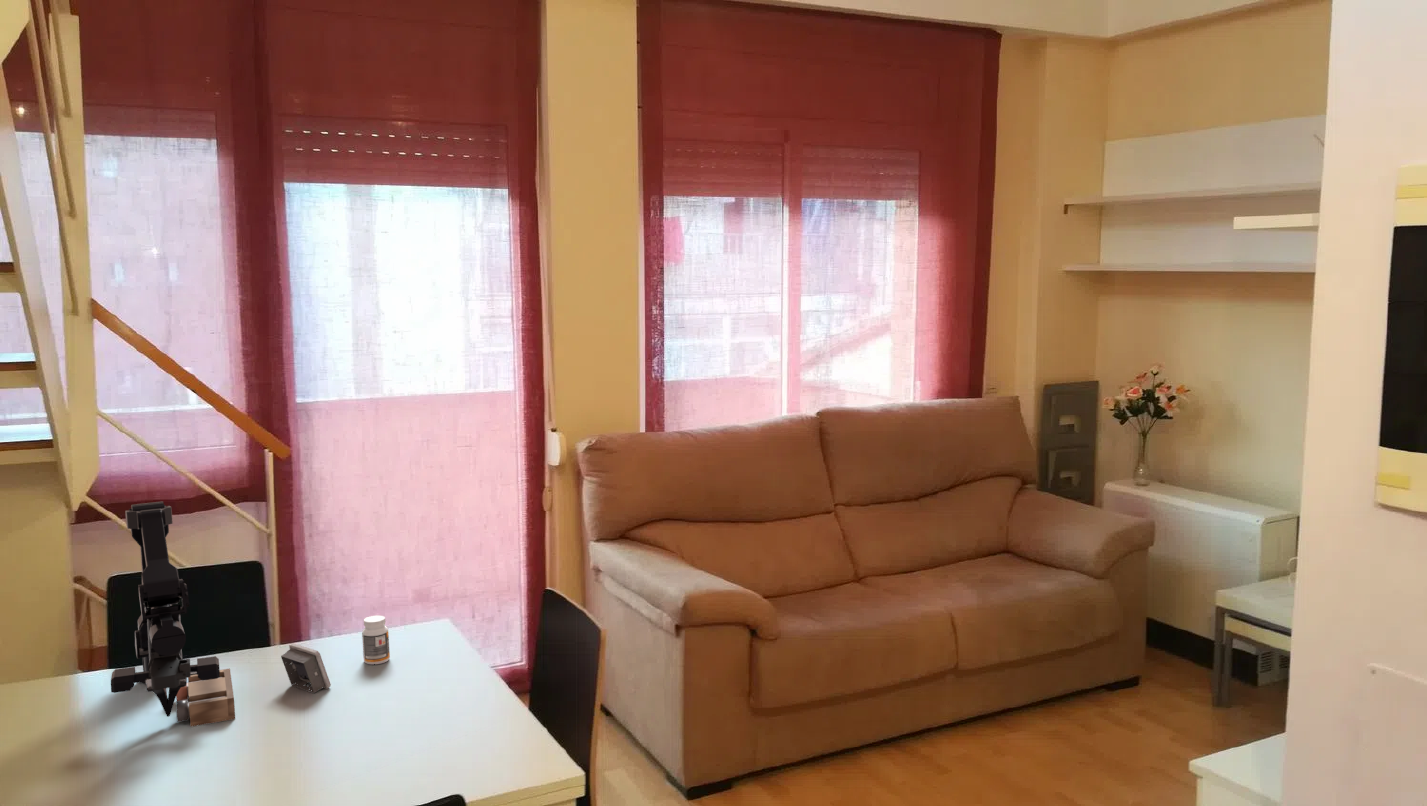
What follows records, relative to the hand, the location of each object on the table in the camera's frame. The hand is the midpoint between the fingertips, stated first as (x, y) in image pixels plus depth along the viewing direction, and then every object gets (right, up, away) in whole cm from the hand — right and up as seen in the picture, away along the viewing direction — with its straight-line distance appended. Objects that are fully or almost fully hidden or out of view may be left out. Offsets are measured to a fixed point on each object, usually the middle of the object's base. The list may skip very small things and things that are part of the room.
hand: (168, 715), depth 208 cm
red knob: (0, 0, +13) cm, 12 cm away
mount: (+4, -1, +9) cm, 10 cm away
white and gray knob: (+5, -1, +3) cm, 6 cm away
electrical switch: (+21, 0, +18) cm, 27 cm away
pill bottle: (+30, +3, +33) cm, 45 cm away
